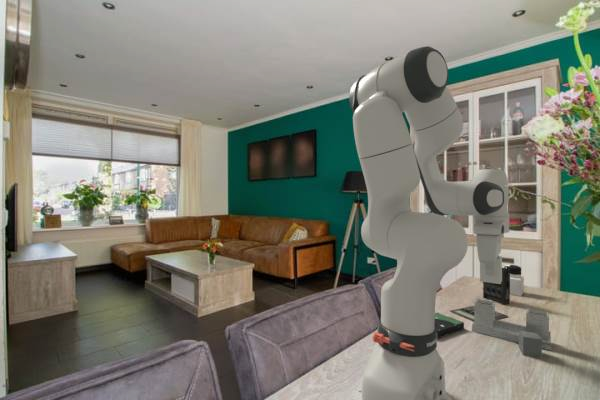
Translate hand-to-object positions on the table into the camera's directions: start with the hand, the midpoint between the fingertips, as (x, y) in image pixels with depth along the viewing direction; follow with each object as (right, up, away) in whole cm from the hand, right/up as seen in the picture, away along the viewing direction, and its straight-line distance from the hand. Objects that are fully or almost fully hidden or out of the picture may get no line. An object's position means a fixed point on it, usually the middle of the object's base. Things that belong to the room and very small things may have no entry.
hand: (490, 272), depth 86 cm
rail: (+8, -20, +4) cm, 22 cm away
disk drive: (-12, -21, +10) cm, 26 cm away
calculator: (+9, -21, +21) cm, 31 cm away
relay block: (+7, -20, -6) cm, 22 cm away
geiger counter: (+24, -20, +35) cm, 47 cm away
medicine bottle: (+38, -20, +45) cm, 62 cm away
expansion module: (0, -2, 0) cm, 2 cm away
